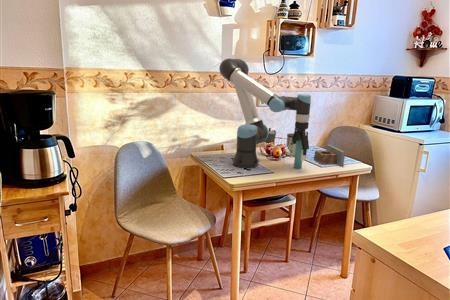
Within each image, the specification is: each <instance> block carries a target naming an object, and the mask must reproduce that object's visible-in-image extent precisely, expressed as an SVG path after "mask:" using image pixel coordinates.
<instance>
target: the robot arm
mask: <svg viewBox="0 0 450 300" xmlns="http://www.w3.org/2000/svg"><path fill="white" fill-rule="evenodd" d="M249 69H250V67H249V64H248V63H247V62H246V61H245V60H244V59H240V58H225V59H224V60H222V61H221V62H220V64H219V69H218V70H219V74H220V75H221V76H222V77H223V78H224V79H225V80H227V81H228V82H230V84H231V85H233V86H234V89H235V93H236V95H237V98H238V101H239V105H240V108H241V111H242V114H243V119H244V121H245V123H244V124H241V125H239V126H238V128H237V131H236V149H235V150H236V152H235V154H234V157H233V159H232V165H233V164H234V165H233V166H235V167H237V166H238V168H242V167H246V168H245V169H248V168H247V167H253V168H256V167H255V166H257V165H258V166H259V160H258V155H257V145H259V144H262V143H264V142H263V141H265V140H266V139H267V137H268V134H269V128H268V127H267V125H266V124H264V121H263V119H262V118H260V117H259V114H258V110H257V108H256V105H255V102H254V98H253V97H255V98H256V99H257V100H259V101H260V102H262V103H264V104H265V105H266V106H267V107H269V109H270V111H271V112H274V113H281V112H283V111H287V110H288V111H295V123H294V132H293V133H294V134H293V138H292V142H293V151H292V154H295V149H296V141H298V140H299V139H301V143H302V153H301V161H302V162H305V161H307V151H308V150H309V149H310V144H309V132H308V131H306V130H308V129H309V125H310V124H309V121H310V117H311V116H310V111H311V104H312V103H311V101H312V99H311V98H312V96H311V94H309V93H307V94H306V93H298V94H297V96H285V95H277V94H276V93H275V92H273V91H271V90H270V89H269V88H267V87H265V86H264V85H263V84H262V83H260V82H259V81H257V80H255V79H254V78H252V77H251V76H249V75H248V74H249V71H250V70H249ZM258 166H257V167H258Z"/></svg>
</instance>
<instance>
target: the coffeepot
mask: <svg viewBox="0 0 450 300" xmlns="http://www.w3.org/2000/svg"><path fill="white" fill-rule="evenodd" d="M268 131H269V134H268V137H267V139H266V140H265V141H263V142H262V143H264V142H266V143H270V142H274V143H275V140H276V136H277V131H276V130H275V129H273V130H272V128H271V127H269V128H268Z"/></svg>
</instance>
